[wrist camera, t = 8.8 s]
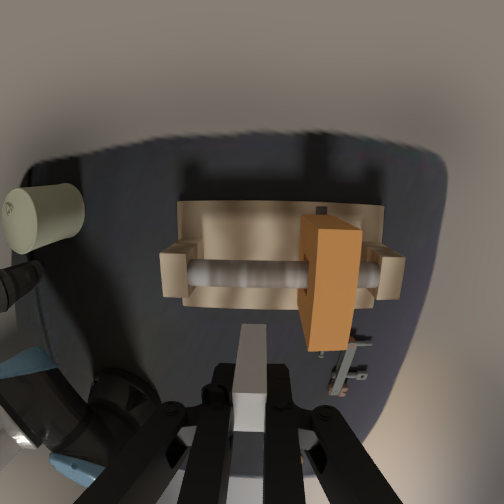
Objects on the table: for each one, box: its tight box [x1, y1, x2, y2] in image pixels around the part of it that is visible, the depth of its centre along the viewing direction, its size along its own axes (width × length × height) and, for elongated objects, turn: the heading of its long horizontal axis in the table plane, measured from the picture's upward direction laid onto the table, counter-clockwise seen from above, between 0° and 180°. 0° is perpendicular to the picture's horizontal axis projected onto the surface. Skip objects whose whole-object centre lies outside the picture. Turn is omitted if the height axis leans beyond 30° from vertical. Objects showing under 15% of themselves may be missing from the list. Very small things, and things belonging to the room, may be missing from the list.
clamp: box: [318, 337, 372, 396], centre depth 41 cm, size 15×2×10 cm
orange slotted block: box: [297, 214, 363, 351], centre depth 30 cm, size 4×12×12 cm, turn 0°
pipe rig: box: [160, 200, 406, 310], centre depth 34 cm, size 28×15×10 cm, turn 90°
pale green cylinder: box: [2, 183, 85, 254], centre depth 32 cm, size 9×9×12 cm
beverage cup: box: [0, 260, 45, 313], centre depth 32 cm, size 7×7×20 cm
